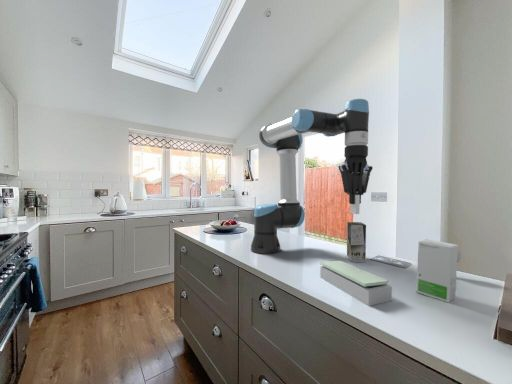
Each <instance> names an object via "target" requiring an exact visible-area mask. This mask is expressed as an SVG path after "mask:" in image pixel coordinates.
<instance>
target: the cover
mask: <svg viewBox="0 0 512 384" xmlns="http://www.w3.org/2000/svg"><path fill="white" fill-rule="evenodd" d="M319 264H320V265H321V266H324V267H326V268H328V269H330V270H332V271H334V272H336V273H338V274H340V275H342V276H344V277H346V278H348V279H350V280H352V281H354V282H356V283H358V284H360V285H362V286H364V287H366V286H374V285H382V284H387V285H389V280H388V279H387V280H386V279H384V278H382V277H380V276H378V275H375V274H373V273H371V272H368V271H366V270H362V269H361V268H358V267H356V266H353V265H351V264H348V263H346V262H344V261H342V260H332V261H330V260H329V261H320V263H319Z"/></svg>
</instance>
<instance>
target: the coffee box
mask: <svg viewBox="0 0 512 384" xmlns="http://www.w3.org/2000/svg"><path fill="white" fill-rule="evenodd" d="M366 243H367V224H365V223H363V222H359V221H352V222H350V221H348V222H346V257H347V259H349V262H352V263H354V262H355V263H366V258H367V257H366V256H367V254H366V253H367V252H366V248H367V247H366V246H367V245H366Z"/></svg>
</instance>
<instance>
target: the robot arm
mask: <svg viewBox="0 0 512 384" xmlns="http://www.w3.org/2000/svg"><path fill="white" fill-rule="evenodd" d="M369 116H370V106H369V101H368V100H367V99H364V98H355V99H351V100H348V101H346V103H345V106H344V110H343V111H340V112H339V113H331V112H323V111H320V110H319V111H318V110H313V109H307V108H297V109H296V110H295V111H294V113H292V116H291V117H288V118H286V119H283V120H281V121H277V122H276V123H267V124H265V125H263V126H262V127H261V129H260V131H259V133H258V137H259V140H260V142H261V143H262V145H263V146H265V147H267V148H271V149H276V154H277V155H278V156H279V186H280V187H279V188H280V200H279V201H278V202H277V203H263V204H260V205H256V206H255V208H254V212H253V219H254V221H253V222H254V223H253V226H254V228H253V229H254V230H253V232H254V234H253V238H252V241H251V244H250V251H251V252H253V253H256V254H266V255H267V254H268V255H270V254H276V253H279V252H281V244H280V241H279V238H278V229H293V228H299V227H300V226H301V225H302V224H304V221H305V217H306V213H305V209H304V207H303V206H302V205H301V202H300V201H299V200H298V198H297V197H298V195H297V165H296V164H297V163H296V155H297V154H298V152H299V150H300V149H301V148H302V144H303V134H306V133H316V134H317V133H318V134H322V135H323V136H325V137H327V138H328V137H335V136H338V135H341V134H344V158H345V159H344V162H343V164H341V165H338V166H337V167H338V170H339V172H340V176H341V180H342V181H341V182H342V187H343V191H344V193H345V194H347V195H348V198H349V200H348V202H349V205H350V214H353V215H360V205H361V203H362V196H363V195H364V194H365V193H367V190H368V189H367V188H368V187H369V186H368V184H369V181H370V176H371V172H372V170H373V166H372V165H371V166H370V165H369V164H368V161H367V157H368V156H369V146H368V145H369V118H370V117H369Z"/></svg>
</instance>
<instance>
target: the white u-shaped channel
mask: <svg viewBox="0 0 512 384" xmlns="http://www.w3.org/2000/svg"><path fill="white" fill-rule="evenodd" d="M319 277H320V278H321V279H322V280H324V281H326V282H327V283H329V284H330V285H333V287H336V288H337V289H340V290H341V291H343V292H344V293H346V294H348V295H349V296H350V297H353V298H355V299H356V300H358V301H360V302H362V303H363V304H365V305H366V306H373V305H379V304H383V303H388V302H391V301H392V300H393V299H392V298H393V297H392V295H393V294H392V293H393V286H391V285H389V284H382V285H374V286H366V287H364V286H362V285H360V284H358V283H356V282H354V281H352V280H350V279H348V278H346V277H344V276H342V275H340V274H338V273H336V272H334V271H332V270H330V269H328V268H326V267H324V266H322V265H321V266H320V274H319Z"/></svg>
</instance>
